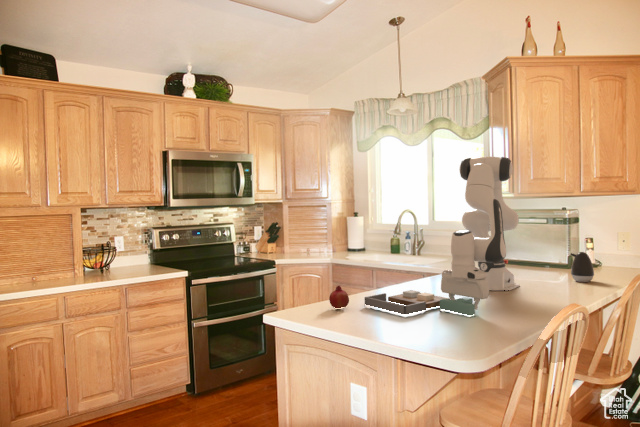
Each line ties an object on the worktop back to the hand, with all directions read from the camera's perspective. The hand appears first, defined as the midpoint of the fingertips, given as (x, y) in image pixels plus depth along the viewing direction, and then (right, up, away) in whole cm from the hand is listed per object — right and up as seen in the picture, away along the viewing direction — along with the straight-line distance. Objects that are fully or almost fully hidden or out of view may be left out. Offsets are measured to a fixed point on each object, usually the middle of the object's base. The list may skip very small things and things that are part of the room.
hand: (464, 307), depth 173 cm
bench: (-15, -2, +14) cm, 20 cm away
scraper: (-1, -2, -1) cm, 2 cm away
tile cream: (-13, +1, +11) cm, 17 cm away
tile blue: (-17, +1, +17) cm, 24 cm away
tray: (-26, -3, +6) cm, 27 cm away
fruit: (-48, -3, +10) cm, 50 cm away
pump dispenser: (+78, +2, +54) cm, 95 cm away
